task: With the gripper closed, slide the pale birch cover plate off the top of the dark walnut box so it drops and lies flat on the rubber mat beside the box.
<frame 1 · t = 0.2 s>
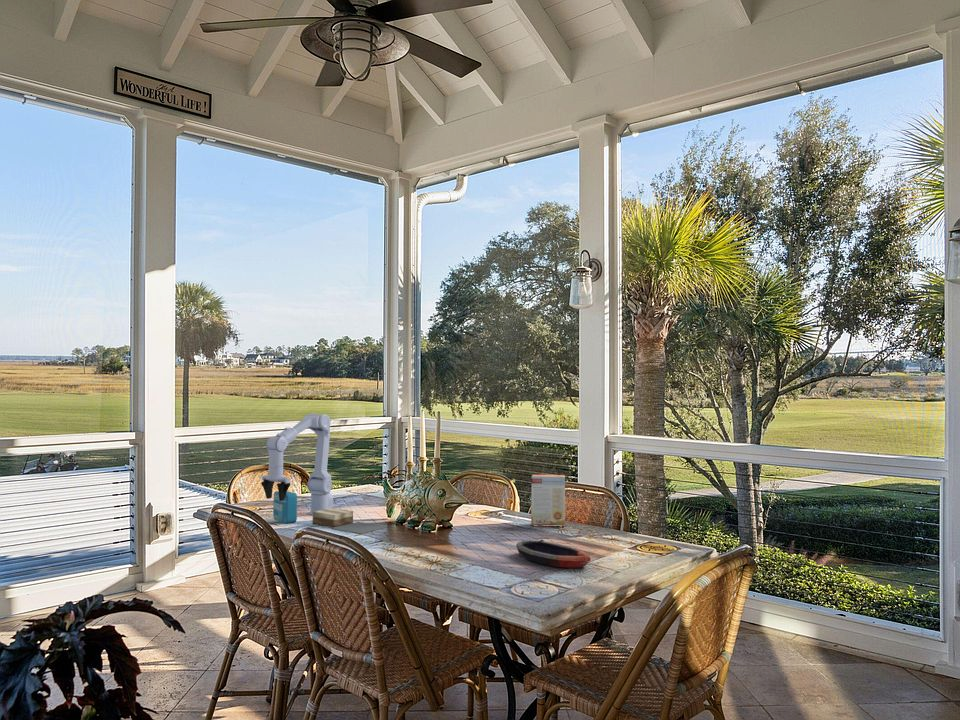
hand: (275, 499, 302), 10 cm above the table, tool pointing down, fingers open, 7 cm apart
cracker box: (547, 526, 307), on the table
rubber mat: (359, 528, 296), on the table
cover plate: (333, 516, 304), point 3 cm above the table, touching walnut box
walnut box: (332, 523, 304), on the table
dish: (552, 562, 248), on the table
juice carton: (421, 521, 313), on the table
data package: (284, 521, 307), on the table
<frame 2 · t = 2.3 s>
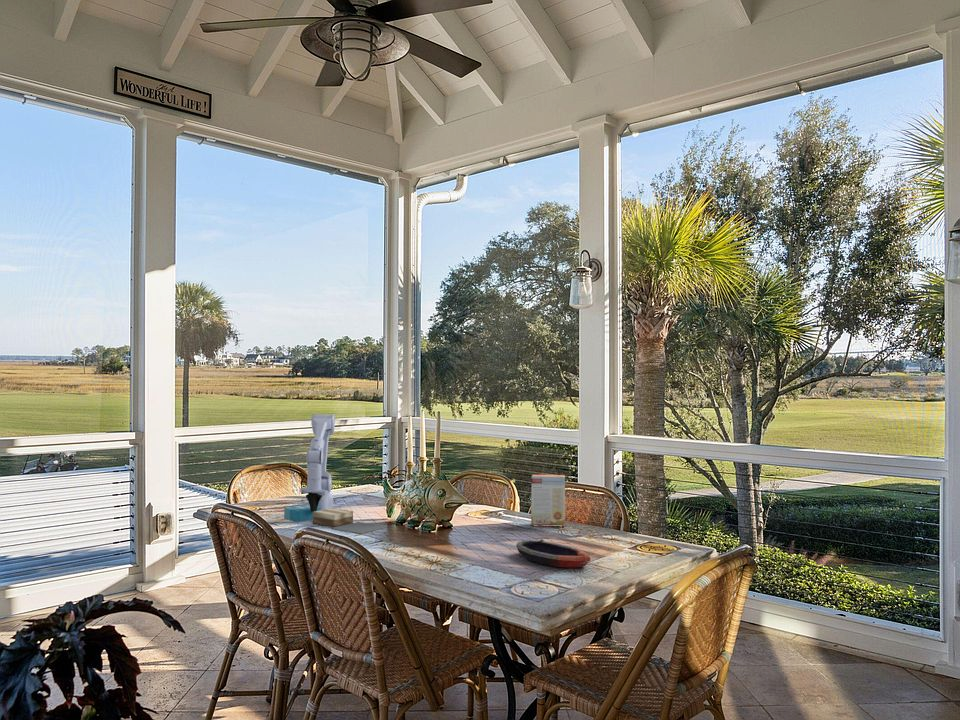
hand: (313, 511, 310), 4 cm above the table, tool pointing down, fingers closed
data package: (289, 514, 309), point 2 cm above the table, touching gripper
everything else where it was.
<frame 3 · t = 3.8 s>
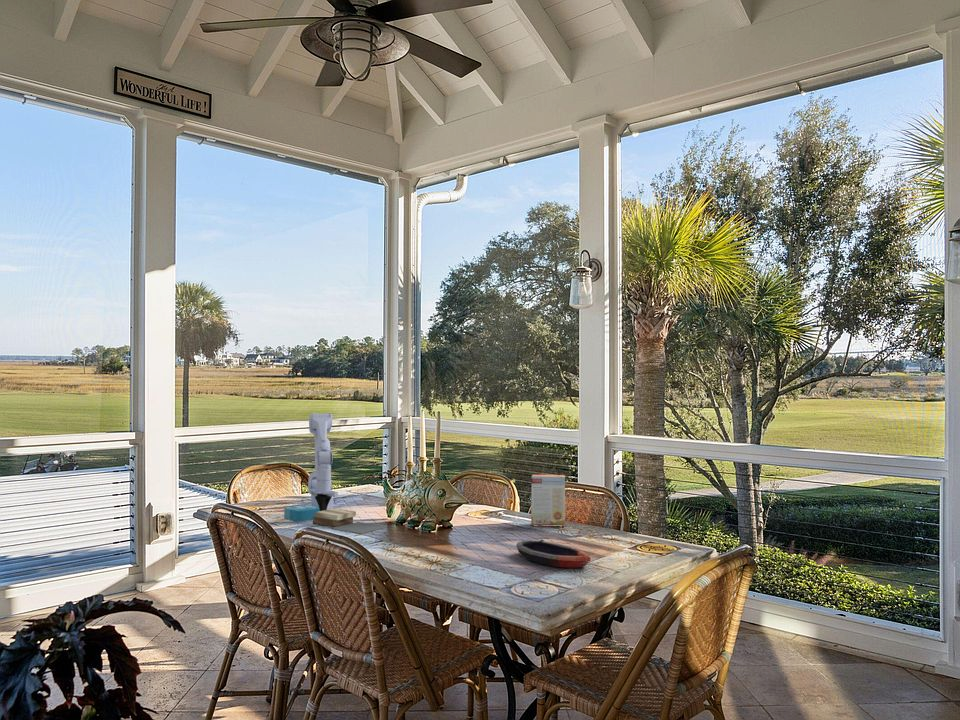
hand: (323, 512, 307), 4 cm above the table, tool pointing down, fingers closed
cover plate: (335, 516, 303), point 3 cm above the table, touching gripper
data package: (289, 514, 309), point 2 cm above the table
everything else where it was.
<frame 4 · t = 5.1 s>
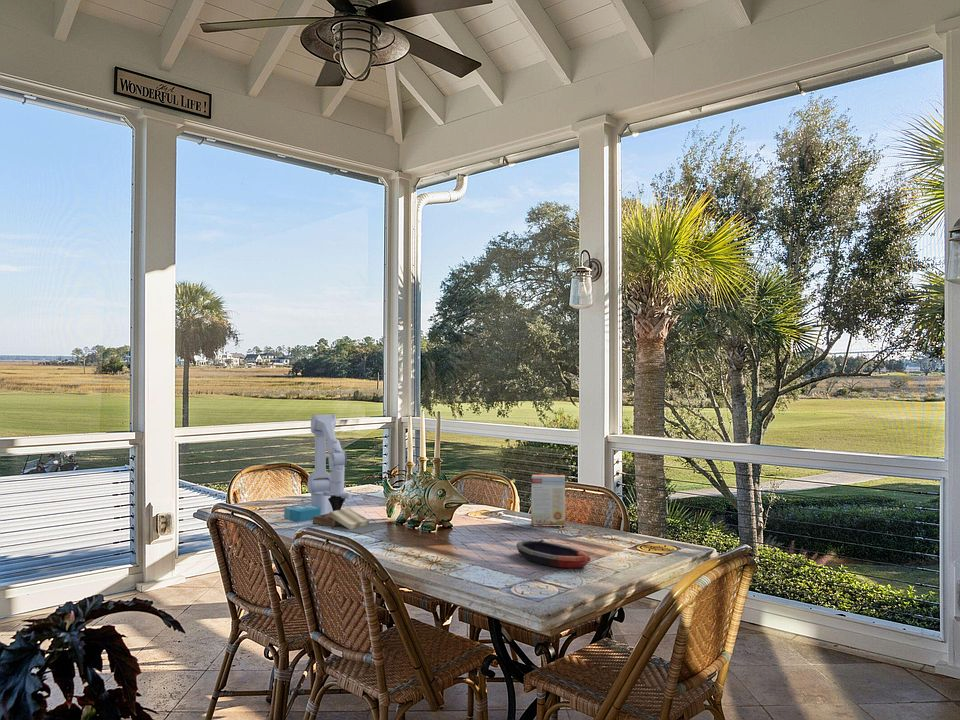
hand: (336, 514, 303), 4 cm above the table, tool pointing down, fingers closed
cover plate: (348, 520, 299), point 2 cm above the table, tilted 18°
everything else where it was.
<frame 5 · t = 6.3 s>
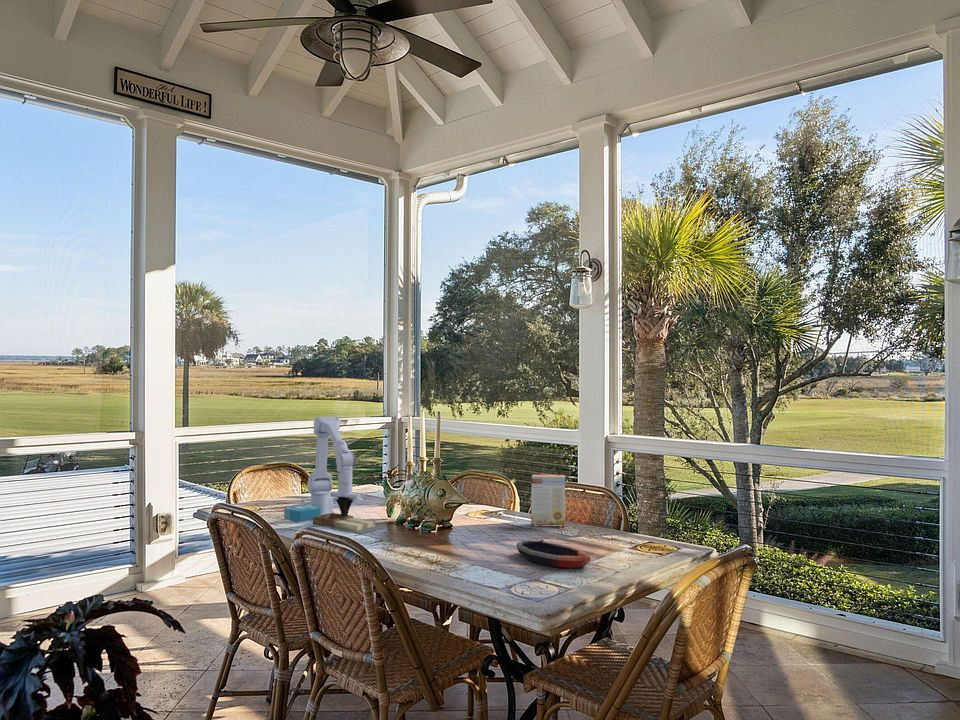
hand: (344, 516, 300), 4 cm above the table, tool pointing down, fingers closed
cover plate: (355, 526, 297), resting on rubber mat
everything else where it was.
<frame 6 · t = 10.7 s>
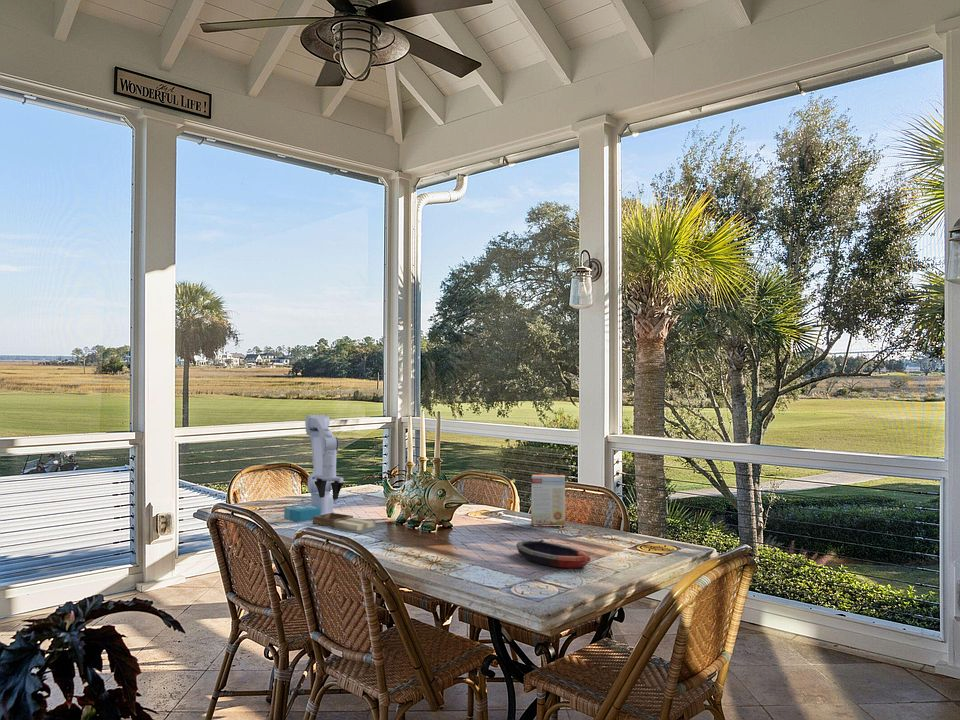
hand: (328, 498, 309), 9 cm above the table, tool pointing down, fingers open, 7 cm apart
nothing on the table moved.
at the end: cover plate inside the target area (2.1 cm from its centre), resting on rubber mat; cover plate tilted 0°; cover plate touching rubber mat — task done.
